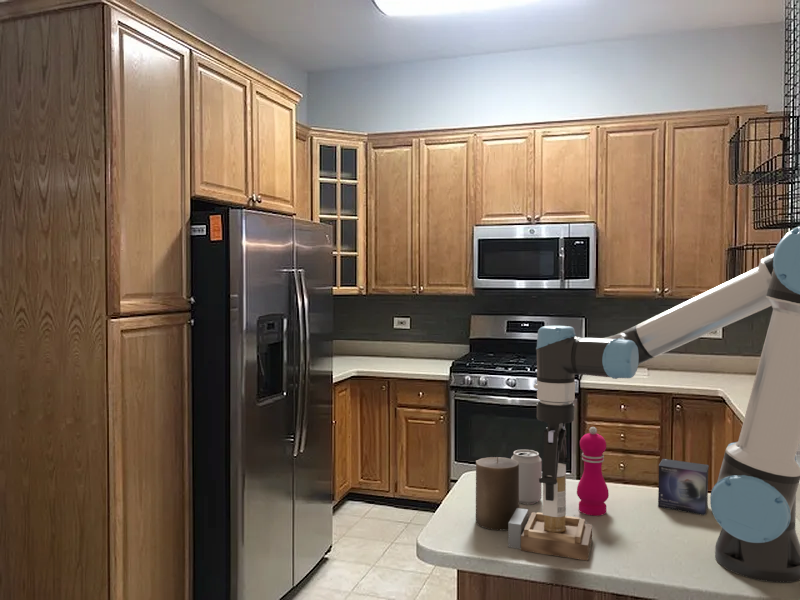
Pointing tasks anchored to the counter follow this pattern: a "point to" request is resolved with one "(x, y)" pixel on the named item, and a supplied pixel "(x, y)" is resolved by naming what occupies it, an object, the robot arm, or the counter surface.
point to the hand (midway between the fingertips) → (554, 504)
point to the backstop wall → (517, 527)
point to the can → (529, 475)
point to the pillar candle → (496, 491)
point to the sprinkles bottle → (558, 522)
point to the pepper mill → (592, 475)
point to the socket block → (557, 538)
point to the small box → (683, 486)
